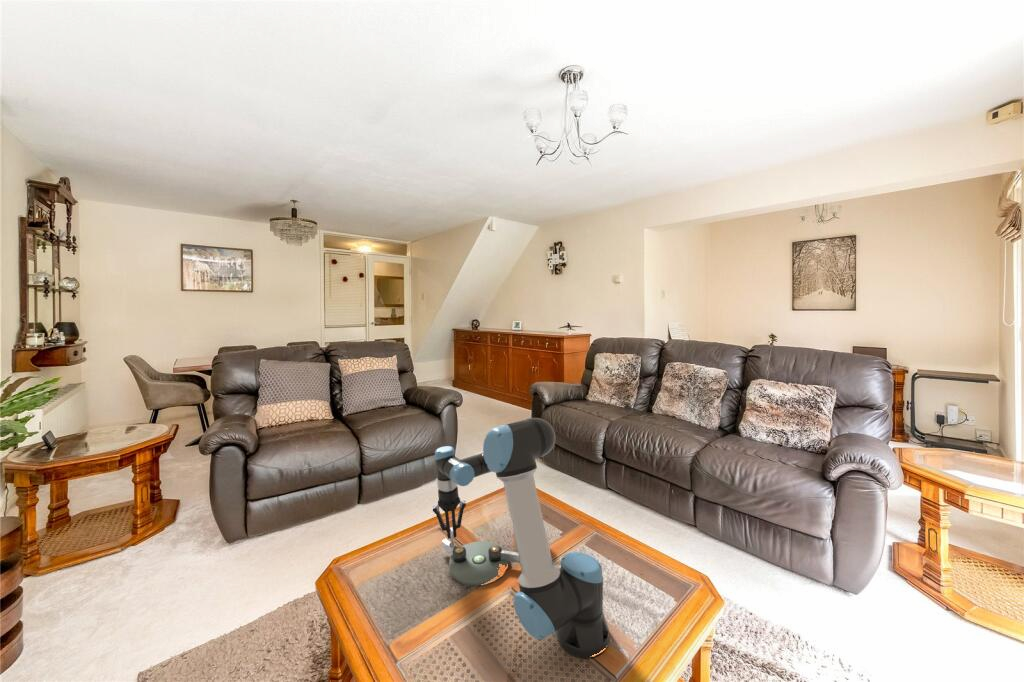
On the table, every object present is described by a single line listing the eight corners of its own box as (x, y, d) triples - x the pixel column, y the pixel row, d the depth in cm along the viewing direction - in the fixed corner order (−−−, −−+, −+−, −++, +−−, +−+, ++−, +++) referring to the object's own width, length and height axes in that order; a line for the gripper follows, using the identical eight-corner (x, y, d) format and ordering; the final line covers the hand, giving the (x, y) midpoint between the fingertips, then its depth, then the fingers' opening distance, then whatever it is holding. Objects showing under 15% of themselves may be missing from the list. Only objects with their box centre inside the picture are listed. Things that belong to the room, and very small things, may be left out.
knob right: (486, 560, 142) (486, 551, 142) (491, 552, 147) (490, 543, 147) (519, 566, 139) (519, 557, 139) (523, 557, 144) (522, 548, 143)
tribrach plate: (514, 579, 136) (514, 573, 136) (451, 591, 131) (451, 585, 131) (502, 542, 157) (502, 536, 157) (447, 551, 152) (447, 545, 152)
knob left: (469, 558, 144) (468, 549, 144) (458, 564, 141) (457, 555, 140) (449, 543, 153) (449, 535, 153) (438, 549, 150) (438, 541, 149)
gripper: (463, 480, 153) (468, 536, 156) (430, 485, 151) (436, 542, 153) (465, 489, 146) (469, 547, 148) (430, 494, 143) (436, 554, 146)
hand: (452, 545), depth 151 cm, fingers closed
